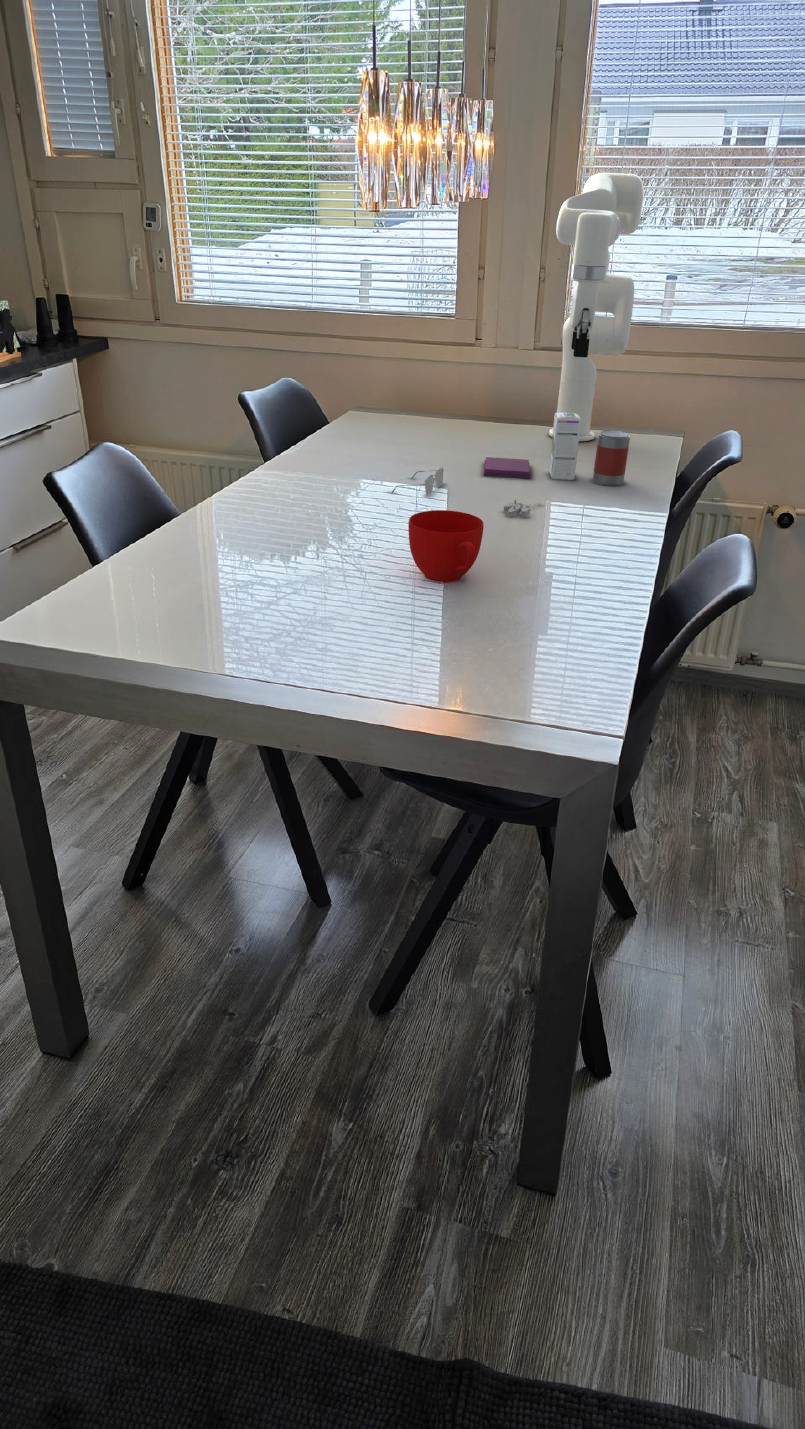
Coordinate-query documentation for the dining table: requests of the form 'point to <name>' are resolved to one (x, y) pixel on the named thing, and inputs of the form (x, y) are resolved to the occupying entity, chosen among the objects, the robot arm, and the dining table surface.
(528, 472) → the purple square slab
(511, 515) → the game controller
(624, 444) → the tin can
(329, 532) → the dining table surface
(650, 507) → the dining table surface
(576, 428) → the syrup box
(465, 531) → the ceramic cup
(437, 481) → the eyeglasses
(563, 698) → the dining table surface
